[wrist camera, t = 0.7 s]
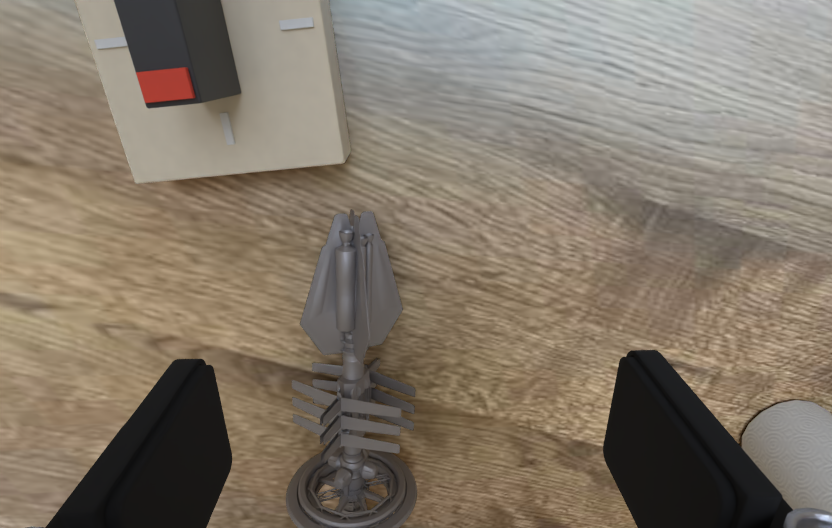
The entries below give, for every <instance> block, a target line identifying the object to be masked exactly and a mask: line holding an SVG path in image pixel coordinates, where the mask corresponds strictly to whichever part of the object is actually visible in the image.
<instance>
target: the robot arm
mask: <svg viewBox="0 0 832 528" xmlns="http://www.w3.org/2000/svg"><path fill="white" fill-rule="evenodd" d="M603 453H604V458H605V461H606V464H607V466H608V468H609V470H610V472H611V474H612V476H613V478H614V480H615V482H616V484H617V486H618V488H619V490H620V492H621V494H622V496H623V498H624V500H625V502H626V504H627V506H628V508H629V510H630V512H631V514H632V516H633V518H634V521H635V523H636V525H637V527H638V528H832V513H830V512H827V511H825V510H820V509H814V508H799V509H795V510H793V509H792V508H791V507H790V506H789V505H788V503H787V502H786V501H785V500H784V499H783V498H782V494H781V493H780V492H779V491H778V490H777V489H776V487H775V486H774V485H773V484H772V483H771V482H770V480H769V479H768V478H767V477H766V476H765V475H764V473H763V472H762V471H761V470H760V469H759V468H758V466H757V465H756V464H755V463H754V462H753V461H752V459H751V458H750V457H749V456H748V455H747V454H746V452H745V451H744V450H743V449H742V448H741V447H740V445H739V444H738V443H737V442H736V441H735V440H734V438H733V437H732V436H731V435H730V434H729V433H728V431H727V430H726V429H725V428H724V427H723V426H722V424H721V423H720V422H719V421H718V420H717V419H716V417H715V416H714V415H713V414H712V413H711V412H710V410H709V409H708V408H707V407H706V406H705V405H704V404H703V402H702V401H701V400H700V399H699V398H698V397H697V395H696V394H695V393H694V392H693V391H692V390H691V388H690V387H689V386H688V385H687V384H686V383H685V381H684V380H683V379H682V378H681V377H680V376H679V374H678V373H677V372H676V371H675V370H674V369H673V367H672V366H671V365H670V364H669V363H668V362H667V360H666V359H665V358H664V357H663V356H662V355H661V353H659V352H658V351H656V350H636V351H630V352H629V353H628V354H627V357H622V358H621V359H620V362H619V367H618V372H617V377H616V382H615V388H614V393H613V398H612V403H611V409H610V414H609V419H608V424H607V430H606V435H605V440H604V446H603ZM231 465H232V453H231V448H230V443H229V439H228V434H227V429H226V425H225V420H224V415H223V410H222V406H221V401H220V396H219V392H218V387H217V382H216V377H215V373H214V369H213V367H212V366H211V365H206V363H205V361H204V360H203V359H177V360H174V361H173V362H172V364H171V365H170V366H169V367H168V369H167V370H166V371H165V373H164V374H163V375H162V377H161V378H160V379H159V381H158V382H157V383H156V385H155V386H154V387H153V389H152V390H151V391H150V392H149V394H148V395H147V396H146V398H145V399H144V400H143V402H142V403H141V404H140V406H139V407H138V408H137V410H136V411H135V412H134V414H133V415H132V416H131V417H130V419H129V420H128V421H127V423H126V424H125V425H124V426H123V427H122V428H121V429H120V431H119V432H118V433H117V435H116V436H115V437H114V439H113V440H112V441H111V443H110V444H109V445H108V446H107V448H106V449H105V450H104V452H103V453H102V454H101V456H100V457H99V458H98V460H97V461H96V462H95V463H94V465H93V466H92V467H91V469H90V470H89V471H88V473H87V474H86V475H85V477H84V478H83V479H82V481H81V482H80V483H79V484H78V486H77V487H76V488H75V490H74V491H73V492H72V494H71V495H70V496H69V498H68V499H67V500H66V502H65V503H64V504H63V505H62V507H61V508H60V509H59V511H58V512H57V513H56V515H55V516H54V517H53V519H52V520H51V521H50V523H49V524H48V525H47V526H46V528H206V527H207V524H208V522H209V520H210V517H211V515H212V512H213V510H214V508H215V505H216V503H217V501H218V498H219V496H220V494H221V491H222V489H223V486H224V484H225V482H226V479H227V477H228V475H229V472H230V469H231ZM27 528H44V527H27Z"/></svg>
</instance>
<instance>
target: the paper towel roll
mask: <svg viewBox="0 0 832 528" xmlns="http://www.w3.org/2000/svg"><path fill="white" fill-rule="evenodd" d="M742 449H743V450H744V451H745V452H746V454H747V455H748V456H749V457H750V458H751V459H752V461H753V462H754V463H755V464H756V465H757V466H758V468H759V469H760V470H761V471H762V472H763V473H764V475H765V476H766V477H767V478H768V479H769V480H770V482H771V483H772V484H773V485H774V486H775V487H776V489H777V490H778V491H779V492H780V493H781V494H782V498H783V499H784V500H785V501H786V502H787V503H788V505H789V506H790V507H791V508H792V509H793V510H795V509H799V508H814V509H820V510H825V511H827V512H830V513H832V414H831V413H830V412H829V411H827V410H826V409H824V408H822V407H821V406H819V405H817V404H815V403H813V402H810V401H800V400H793V401H788V402H783V403H779V404H776V405H774V406H772V407H770V408H768V409H766V410H764V411H762V412H761V413H760V414H759V415H758V416H756V417H755V418H754V419H753V420H752V421H751V422H750V423H749V424H748V426H747V428H746V430H745V432H744V434H743V436H742Z"/></svg>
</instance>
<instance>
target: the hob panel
mask: <svg viewBox="0 0 832 528" xmlns="http://www.w3.org/2000/svg"><path fill="white" fill-rule="evenodd" d="M74 1H75V4H76V7H77V10H78V13H79V16H80V19H81V22H82V25H83V28H84V31H85V34H86V37H87V40H88V43H89V46H90V49H91V52H92V55H93V58H94V61H95V64H96V67H97V70H98V73H99V76H100V79H101V82H102V85H103V88H104V91H105V94H106V97H107V100H108V103H109V106H110V109H111V112H112V115H113V118H114V121H115V124H116V127H117V130H118V133H119V136H120V139H121V142H122V145H123V148H124V151H125V154H126V157H127V160H128V163H129V166H130V169H131V172H132V175H133V178H134V181H135V183H136V184H142V183H152V182H162V181H172V180H183V179H193V178H203V177H213V176H223V175H233V174H244V173H254V172H264V171H274V170H284V169H295V168H305V167H315V166H325V165H335V164H344V163H345V161H346V159H347V158H348V156H349V154H350V152H351V147H350V140H349V133H348V126H347V120H346V113H345V106H344V99H343V92H342V85H341V78H340V72H339V65H338V58H337V51H336V44H335V37H334V31H333V24H332V17H331V10H330V3H329V0H221V4H222V8H223V13H224V17H225V22H226V26H227V31H228V35H229V39H230V44H231V48H232V53H233V57H234V62H235V66H236V70H237V75H238V79H239V84H240V88H241V94H238V95H234V96H230V97H226V98H221V99H217V100H213V101H208V102H204V103H199V104H189V105H179V106H170V107H160V108H150V109H149V108H147V107H146V104H145V101H144V98H143V95H142V91H141V88H140V85H139V81H138V78H137V75H136V72H135V68H134V65H133V62H132V58H131V55H130V52H129V49H128V45H127V42H126V39H125V35H124V32H123V29H122V26H121V22H120V19H119V16H118V12H117V9H116V6H115V3H114V0H74Z"/></svg>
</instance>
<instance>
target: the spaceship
mask: <svg viewBox="0 0 832 528" xmlns="http://www.w3.org/2000/svg"><path fill="white" fill-rule="evenodd" d="M402 310H403V308H402V304H401V301H400V297H399V293H398V290H397V286H396V282H395V278H394V275H393V271H392V267H391V264H390V260H389V256H388V253H387V249H386V245H385V242H384V241H383V240H381V237H380V234H379V230H378V227H377V224H376V220H375V217H374V213H373V212H371V211H370V212H363V213H362V214H361V217H360V220H359V218H358V216H357V215H355V214H354V210H352V209H351V210H350V219H348V216H347V215H346V214H336V215H335V216H334V220H333V223H332V226H331V229H330V233H329V236H328V239H327V242H326V245H324V246H323V247H322V249H321V253H320V256H319V259H318V263H317V266H316V270H315V273H314V277H313V280H312V284H311V287H310V291H309V294H308V298H307V301H306V305H305V308H304V312H303V315H302V318H301V322H300V325H301V327H302V328H303V329H304V331H305V332H306V333H307V334H308V336H309V337H310V338H311V340H312V341H313V342H314V344H315V345H316V346H317V347H318V349H319V350H320V351H321V353H322V354H323V355H331V354H338V353H343V355H342V358H343V366H339V365H330V364H320V363H312V371H315V372H320V373H326V374H332V375H337V376H340V377H339V378H338V380H337V382H335V381H326V380H317V379H313V387H311V386H308V385H305V384H303V383H300V382H297V381H295V380H292V388H293V389H294V390H297V391H299V392H301V393H303V394H305V395H307V396H309V397H311V398H313V403H316V404H321V405H326V406H329V407H328V408H327V409H326V410H325V409H322V408H320V407H317V406H315V405H312V404H310V403H307V402H305V401H302V400H300V399H297V398H294V397H292V400H293V406H295V407H297V408H299V409H301V410H303V411H305V412H307V413H309V414H311V415H313V416H315V417H317V418H319V419H320V425H319V424H317V423H315V422H312V421H310V420H307V419H305V418H303V417H300V416H298V415H295V414H293V422H294V423H296V424H298V425H300V426H302V427H304V428H306V429H308V430H310V431H312V432H314V433H316V434H318V435H320V444H321V443H322V442H323V441H324V445H325V444H326V443H327V442H328V441H330V443H329V444H328V445H327V446H326V448H325V449H324V450H323V451H322V452H321V453H319V454H317V455H315V456H314V457H312V458H311V459H309V460H308V461H306V462H305V463H304V464H303V465H302V466H301V467H300V468H299V469H298V470H297V472H296V473H295V474H294V476H293V478H292V479H291V481H290V483H289V486H288V489H287V493H286V506H287V510H288V513H289V515H290V518H291V519H292V521H293V522H294V523H295V525H296V526H297V527H298V528H399V527H400V526H401V525H402V524H403V523H404V522H405V521H406V520H407V518H408V517H409V516H410V514H411V512H412V511H413V508H414V506H415V503H416V499H417V485H416V481H415V479H414V476H413V474H412V472H411V471H410V469H409V468H408V466H407V465H406V464H405V463H404V462H403V461H402V460H401V459H400V458H398V457H397V456H395V455H394V454H392V453H399V451H400V445H398V444H394V443H389V442H384V441H379V440H374V439H369V438H364V437H363V436H364V434H365V433H366V432H373V433H381V434H389V435H397V436H399V435H400V427H399V426H402V427H404V428H407V429H410V430H414V423H413V422H412V421H410V420H407V419H405V418H403V417H401V410H404V411H407V412H409V413H412V414H414V411H415V406H414V405H412V404H410V403H408V402H405V401H403V400H401V399H398V398H396V397H394V396H391V395H389V394H386V393H384V392H382V391H379V390H377V389H375V387H376V385H377V384H378V385H381V386H384V387H387V388H390V389H393V390H396V391H398V392H401V393H404V394H407V395H410V396H413V397H415V391H416V389H415V388H414V387H412V386H409V385H407V384H404V383H402V382H399V381H397V380H394V379H392V378H389V377H387V376H384V375H382V374H379V373H377V372H375V371H376V370H377V369H378V368H379V366H380V359H379V360H378V361H377V358H376V359H375V360H374V361H373V362H372V363H371V364H370V365H364V358H365V354H366V351H367V350H368V348H369V347H370V346H375V345H381V344H382V343H383V342H384V340H385V338H386V337H387V335H388V333H389V332H390V330H391V328H392V327H393V325H394V323H395V322H396V320H397V318H398V317H399V315H400V313H401V312H402ZM316 388H320V389H325V390H331V391H336V392H337V396H335V395H332V394H330V393H327V392H324V391H322V390H319V389H316ZM376 401H379V402H382V403H384V404H387V405H390V406H386V405H380V404H375V402H376ZM391 406H393V407H391ZM369 414H370V415H373V416H375V417H378V418H380V419H383V420H386V421H388V422H391V423H394V424H396V425H399V426H394V425H389V424H384V423H378V422H373V421H369ZM327 423H330V424H329V426H328V427H324V426H325V425H326V424H327ZM322 424H323V426H322ZM390 452H391V453H390ZM333 478H334V479H333ZM374 478H376V479H378V481H379V482H380V481H381V483H379V482H378V481H373V482H367V481H368V480H370V479H374ZM365 479H368V480H367V481H366V480H365ZM374 482H377V483H376V484H373V483H374ZM368 483H369V484H371V485H369V484H368ZM324 484H327V485H330V486H333V487H336V488H335V489H332V490H337V489H339V490H337V491H332V490H328V491H331V492H335V493H336V494H337V495H336V494H335V493H333V494H332V495H329V496H333V495H336V496H333V497H331V498H328V499H322V498H326V497H329V496H323V495H324V494H325V493H326V492H328V491H325V492H321V493H324V494H323V495H321V496H319V498H318V497H317V495H318V494H321V493H318V492H319V490H320V489H321V488H322V486H323V485H324ZM378 484H384V486H385V487H386V489H387V492H388V496H387V497H385V498H384V497H382V496H380V495H379V494H376V493H374V492H372V491H369V488H368V487H369V486H373V485H378ZM365 488H366V489H365ZM367 489H368V490H367ZM320 497H322V498H320ZM337 497H340V499H339V504H338V506H337V507H336V509H335V510H332V509H330V508H327V507H324V506H323V505H322V504H321V502H323V501H326V500H330V499H333V498H337ZM365 498H368V499H371V500H374V501H377V502H379V503H378V504H377V505H376V506H375V507H374V508H372V509H371V510H368V509H367V505H366V500H365ZM319 499H320V500H321V501H320V500H319ZM403 500H404V501H403ZM400 503H401V504H400ZM380 505H381V506H380ZM379 506H380V507H379ZM378 507H379V508H378ZM304 511H306V513H307V514H308V515H309V516H310V517H311V518H312V519H311V518H310V517H309V516H308V515H307V514H306V513H305V512H304ZM328 511H329V512H328ZM330 512H332V513H333V514H332V513H330ZM393 512H395V513H394V514H393ZM390 515H391V516H390ZM387 518H388V519H387ZM386 519H387V520H386ZM314 520H315V521H314Z"/></svg>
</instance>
